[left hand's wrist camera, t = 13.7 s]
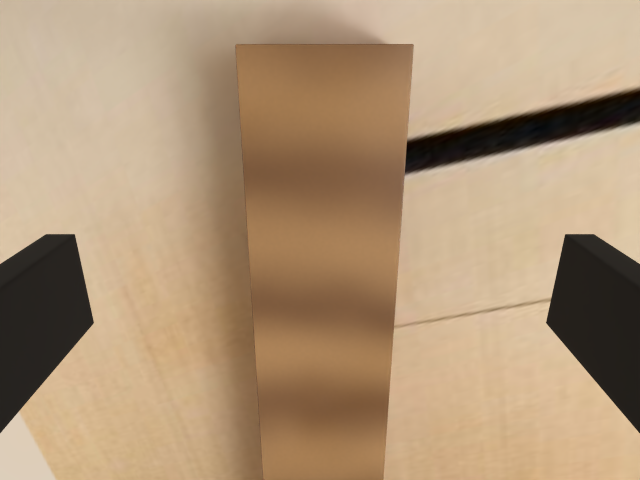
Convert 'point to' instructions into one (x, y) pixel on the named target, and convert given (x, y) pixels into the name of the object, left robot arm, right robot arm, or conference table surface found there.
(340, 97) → the thick board
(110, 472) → the conference table surface
